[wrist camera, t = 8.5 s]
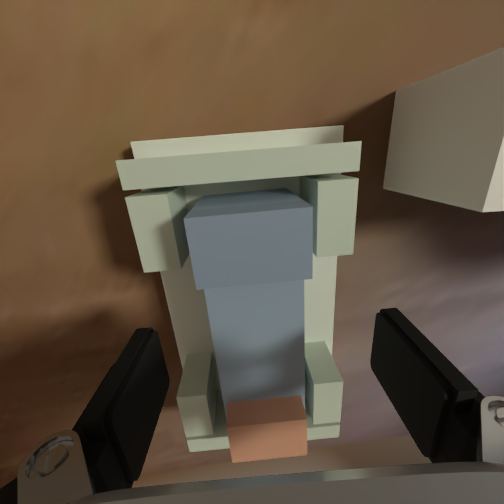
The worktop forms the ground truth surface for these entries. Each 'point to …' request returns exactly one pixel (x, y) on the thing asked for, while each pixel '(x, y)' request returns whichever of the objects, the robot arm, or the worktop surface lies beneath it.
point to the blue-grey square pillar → (256, 313)
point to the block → (451, 136)
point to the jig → (180, 267)
